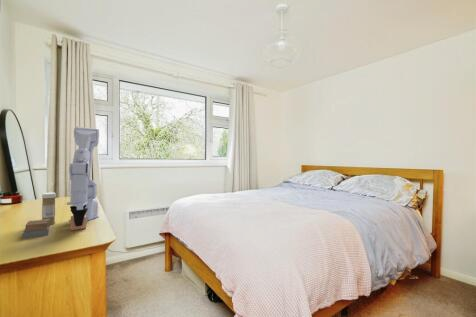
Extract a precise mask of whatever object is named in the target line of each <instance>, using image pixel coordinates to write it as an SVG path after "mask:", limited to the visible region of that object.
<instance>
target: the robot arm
mask: <svg viewBox="0 0 476 317" xmlns="http://www.w3.org/2000/svg"><path fill="white" fill-rule="evenodd" d="M73 128H74V130H73V137H74V142H75V145H76V146H78V149H76V150H75V151H74V154H73V158H72V163H70V164H69V168H68V171H69V180H70V201H69V202H66V205H67V206H69V209H70V213H72V216H74V221H75V226H82V224H83V220H84V216H85V215H86V222H87V221H91V220H93V219H96V218H100V215H99V203H98V201H97V200H96V198H97V197H98V196H97V193H98V188H97V187H98V186H97V183H96V181H94V180H93V179H91V177H92V176H91V175H92V161H93V151H94V149H95V148H96V147H98V145H99V142H100V140H99V138H100V129H99V128H98V127H86V126H85V127H84V126H75V127H73ZM68 221H70V222H71V218H70V219H68Z"/></svg>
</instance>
